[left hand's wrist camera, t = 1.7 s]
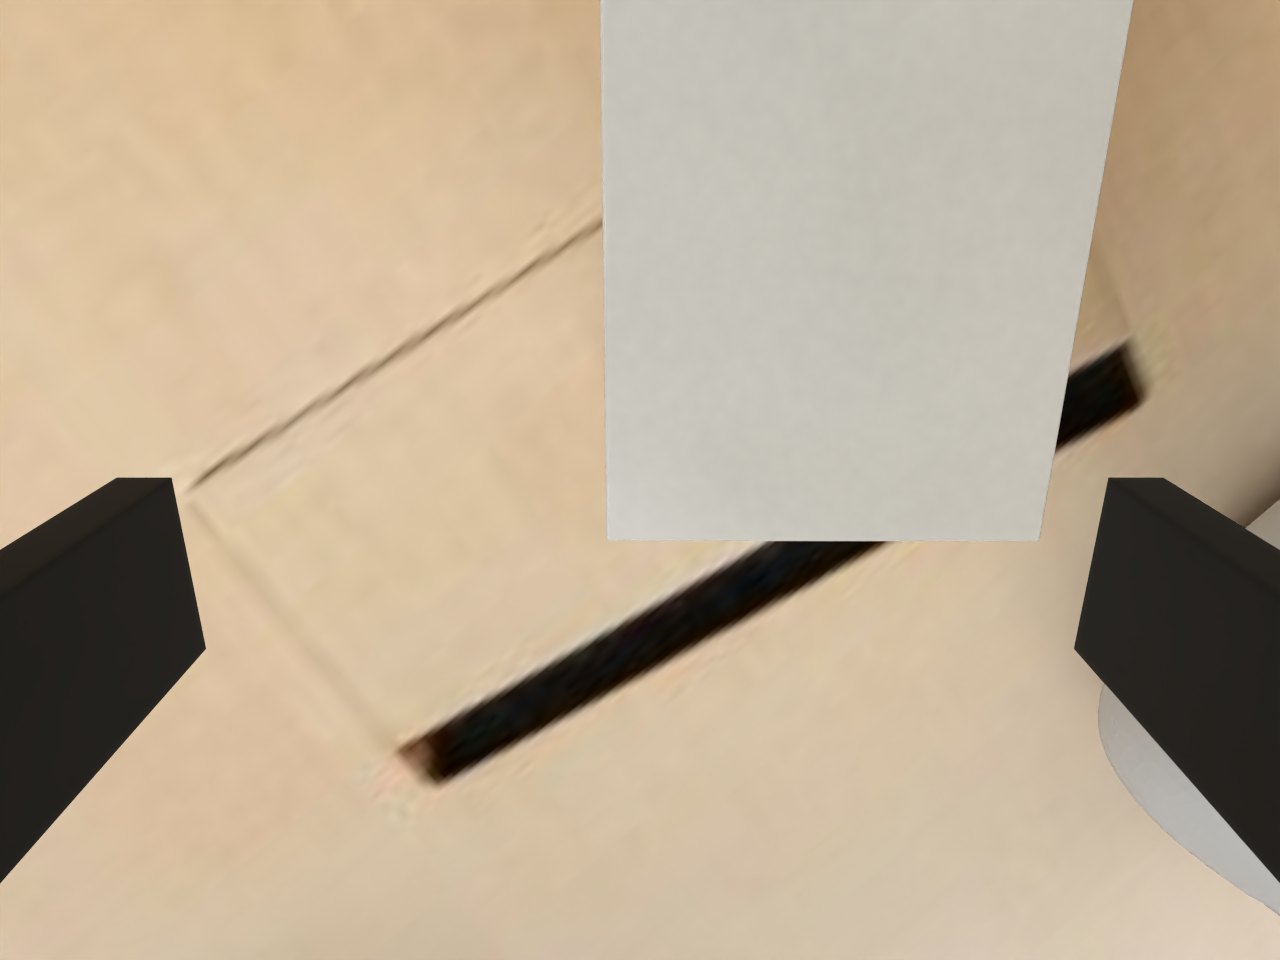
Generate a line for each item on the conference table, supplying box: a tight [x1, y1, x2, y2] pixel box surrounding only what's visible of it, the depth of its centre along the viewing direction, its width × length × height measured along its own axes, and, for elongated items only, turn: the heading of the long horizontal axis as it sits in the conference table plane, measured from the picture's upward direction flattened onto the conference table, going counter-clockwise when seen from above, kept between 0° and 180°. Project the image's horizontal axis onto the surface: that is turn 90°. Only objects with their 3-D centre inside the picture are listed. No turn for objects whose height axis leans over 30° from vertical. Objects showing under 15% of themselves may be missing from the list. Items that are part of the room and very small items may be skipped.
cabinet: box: [600, 0, 1134, 541], centre depth 23 cm, size 17×10×11 cm, turn 0°
